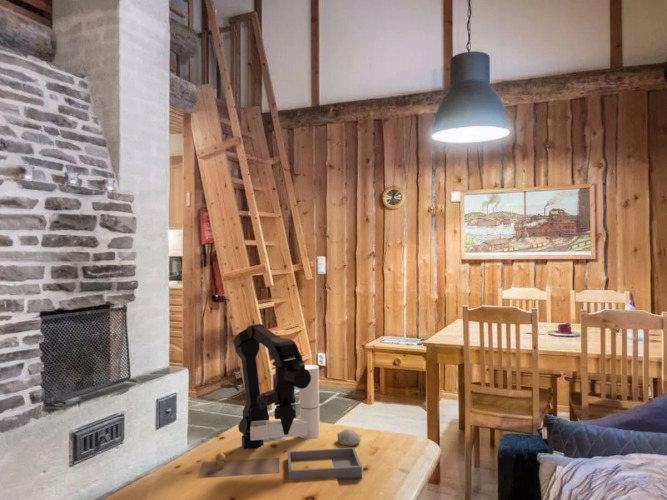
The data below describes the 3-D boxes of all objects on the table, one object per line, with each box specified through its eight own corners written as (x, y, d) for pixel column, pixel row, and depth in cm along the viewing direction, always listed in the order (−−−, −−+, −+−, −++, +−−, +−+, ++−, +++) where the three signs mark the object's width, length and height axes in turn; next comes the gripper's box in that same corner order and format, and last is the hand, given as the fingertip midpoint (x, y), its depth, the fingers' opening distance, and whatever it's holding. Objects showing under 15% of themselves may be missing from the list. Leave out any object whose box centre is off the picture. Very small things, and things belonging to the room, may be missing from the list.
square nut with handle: (306, 431, 161) (306, 418, 161) (307, 437, 156) (307, 424, 156) (251, 433, 160) (251, 421, 160) (250, 440, 154) (250, 427, 154)
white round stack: (258, 434, 190) (258, 424, 190) (285, 431, 192) (285, 422, 192) (259, 444, 180) (259, 434, 180) (287, 442, 182) (287, 432, 182)
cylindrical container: (320, 432, 190) (319, 364, 190) (318, 439, 183) (317, 369, 183) (301, 431, 191) (300, 364, 191) (298, 439, 184) (297, 369, 184)
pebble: (334, 446, 177) (333, 432, 177) (339, 437, 185) (339, 423, 185) (358, 448, 175) (358, 433, 175) (362, 439, 183) (362, 425, 183)
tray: (354, 458, 167) (354, 447, 167) (362, 478, 152) (361, 466, 152) (287, 462, 164) (287, 451, 164) (288, 483, 150) (288, 471, 150)
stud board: (279, 461, 165) (278, 443, 165) (279, 476, 154) (279, 457, 154) (202, 466, 162) (202, 447, 162) (197, 481, 151) (197, 462, 151)
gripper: (260, 375, 167) (261, 423, 167) (256, 391, 148) (257, 445, 148) (294, 374, 168) (295, 422, 168) (295, 389, 149) (296, 443, 149)
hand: (286, 432), depth 158 cm, fingers closed on square nut with handle, 3 cm apart
